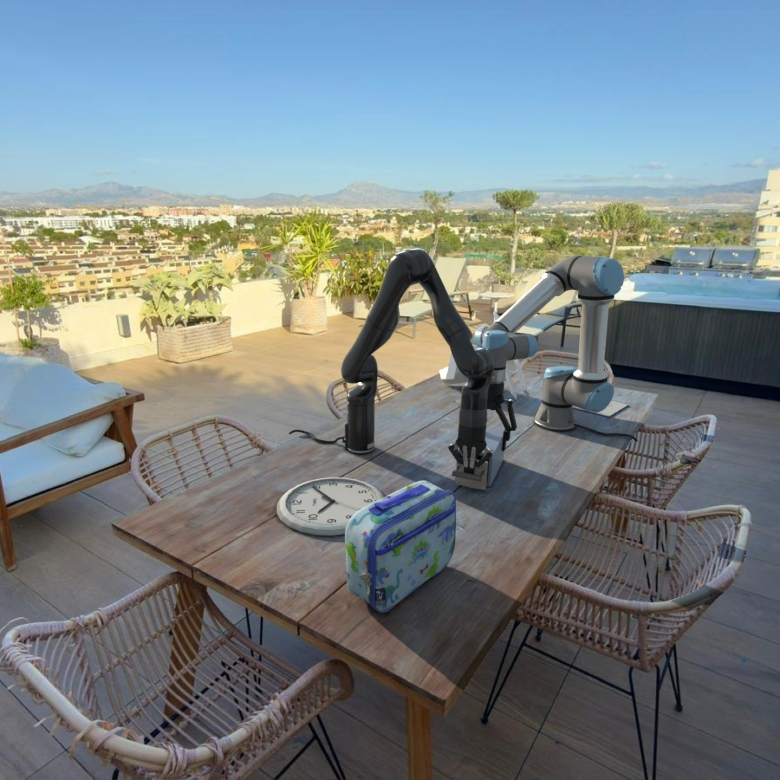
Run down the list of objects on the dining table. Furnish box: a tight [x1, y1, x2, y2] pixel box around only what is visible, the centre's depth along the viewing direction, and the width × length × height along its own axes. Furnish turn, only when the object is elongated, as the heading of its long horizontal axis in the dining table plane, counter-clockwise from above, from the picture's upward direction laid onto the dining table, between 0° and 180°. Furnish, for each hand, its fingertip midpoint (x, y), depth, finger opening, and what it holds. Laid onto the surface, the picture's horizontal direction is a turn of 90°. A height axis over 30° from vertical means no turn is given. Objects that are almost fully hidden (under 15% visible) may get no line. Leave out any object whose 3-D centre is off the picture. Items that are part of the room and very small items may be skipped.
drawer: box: [451, 455, 489, 491], centre depth 157 cm, size 25×9×8 cm, turn 157°
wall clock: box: [276, 476, 386, 537], centre depth 142 cm, size 30×2×30 cm
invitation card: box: [573, 400, 629, 418], centre depth 226 cm, size 21×1×15 cm
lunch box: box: [344, 480, 457, 614], centre depth 109 cm, size 26×11×21 cm, turn 135°
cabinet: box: [458, 427, 505, 488], centre depth 164 cm, size 20×10×10 cm, turn 157°
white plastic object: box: [438, 310, 531, 400], centre depth 245 cm, size 37×45×31 cm
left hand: (468, 477), depth 148 cm, fingers closed
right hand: (486, 446), depth 169 cm, fingers closed on cabinet, 10 cm apart
